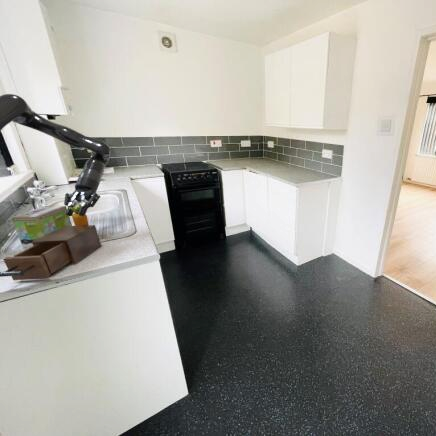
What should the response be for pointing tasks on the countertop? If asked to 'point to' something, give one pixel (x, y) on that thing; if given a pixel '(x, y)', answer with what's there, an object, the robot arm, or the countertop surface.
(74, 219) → the carrot
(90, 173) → the robot arm
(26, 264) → the drawer
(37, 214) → the tea box
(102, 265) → the countertop surface
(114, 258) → the countertop surface
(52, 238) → the cabinet
